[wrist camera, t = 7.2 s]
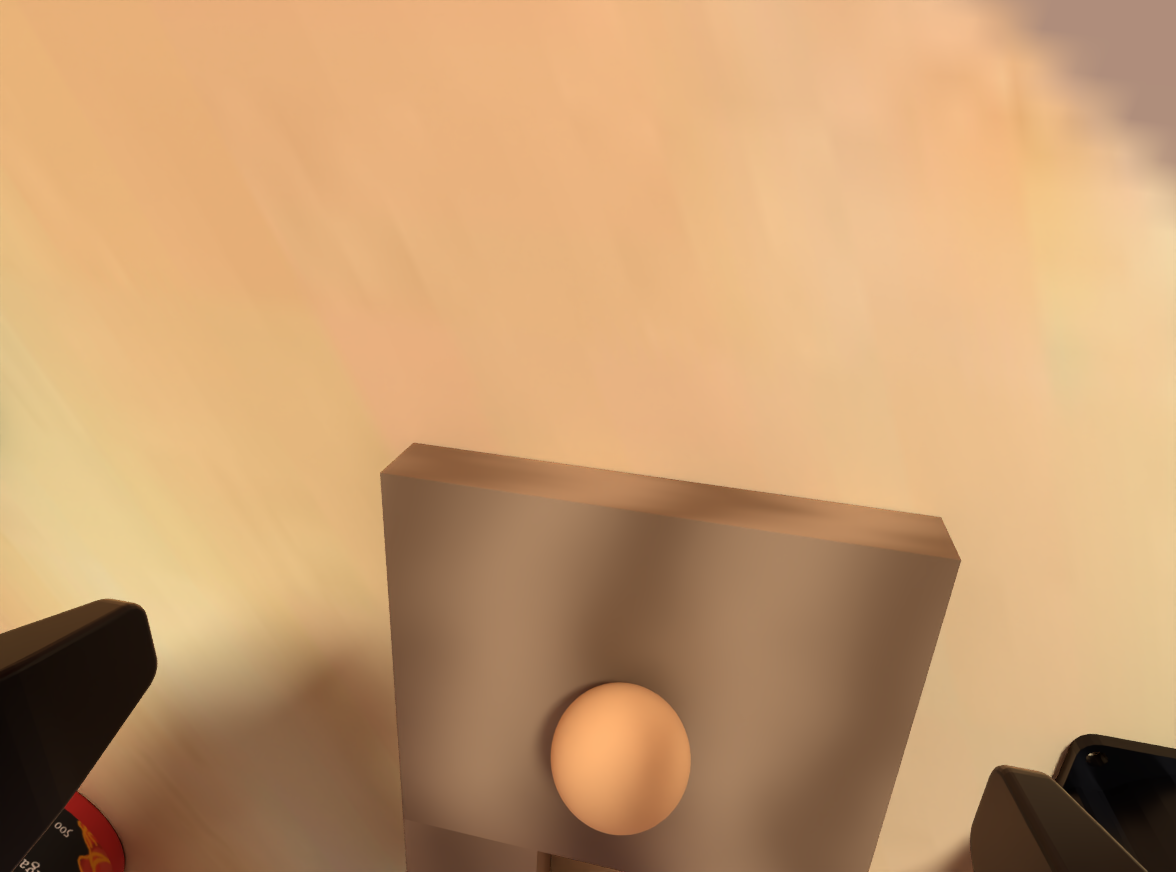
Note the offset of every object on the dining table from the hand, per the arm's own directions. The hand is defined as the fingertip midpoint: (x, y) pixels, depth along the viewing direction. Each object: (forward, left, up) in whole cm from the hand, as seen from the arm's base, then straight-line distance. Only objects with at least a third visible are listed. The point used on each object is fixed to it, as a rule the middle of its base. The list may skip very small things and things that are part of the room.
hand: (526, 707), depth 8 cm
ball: (0, +9, -8) cm, 12 cm away
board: (0, +14, -12) cm, 18 cm away
